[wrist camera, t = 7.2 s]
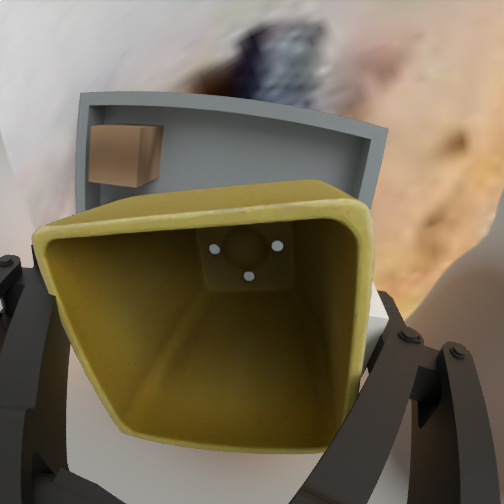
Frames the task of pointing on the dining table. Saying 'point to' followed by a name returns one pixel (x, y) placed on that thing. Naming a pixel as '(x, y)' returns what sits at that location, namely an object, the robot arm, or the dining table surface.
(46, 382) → the robot arm
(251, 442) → the flower pot
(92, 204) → the tray
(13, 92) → the dining table surface
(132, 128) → the walnut block
